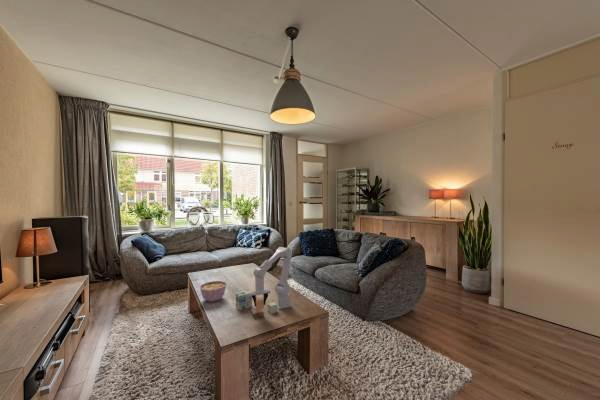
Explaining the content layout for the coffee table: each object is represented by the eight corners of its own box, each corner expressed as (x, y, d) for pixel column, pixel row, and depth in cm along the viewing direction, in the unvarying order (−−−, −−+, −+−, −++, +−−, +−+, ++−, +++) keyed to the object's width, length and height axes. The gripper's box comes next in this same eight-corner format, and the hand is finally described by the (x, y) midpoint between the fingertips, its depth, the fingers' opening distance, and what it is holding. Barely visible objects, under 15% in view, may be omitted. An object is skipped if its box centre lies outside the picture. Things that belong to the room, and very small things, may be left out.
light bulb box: (238, 310, 174) (238, 295, 174) (235, 307, 179) (235, 292, 179) (252, 306, 180) (252, 292, 180) (248, 303, 186) (248, 289, 185)
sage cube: (273, 309, 176) (273, 301, 176) (277, 311, 172) (277, 304, 172) (267, 311, 173) (267, 303, 173) (271, 313, 169) (271, 306, 169)
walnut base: (261, 312, 172) (261, 307, 172) (263, 316, 165) (263, 311, 165) (251, 314, 169) (251, 309, 169) (253, 318, 163) (253, 313, 163)
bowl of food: (200, 296, 198) (200, 282, 198) (225, 293, 206) (225, 279, 205) (199, 307, 180) (199, 291, 180) (227, 302, 187) (227, 288, 187)
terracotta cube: (263, 305, 168) (263, 297, 168) (263, 308, 163) (263, 300, 163) (256, 306, 167) (256, 298, 167) (256, 309, 162) (256, 301, 162)
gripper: (268, 282, 171) (268, 301, 171) (248, 285, 166) (248, 304, 166) (271, 285, 164) (271, 305, 165) (249, 288, 159) (250, 309, 159)
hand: (259, 305), depth 165 cm, fingers closed on terracotta cube, 6 cm apart
